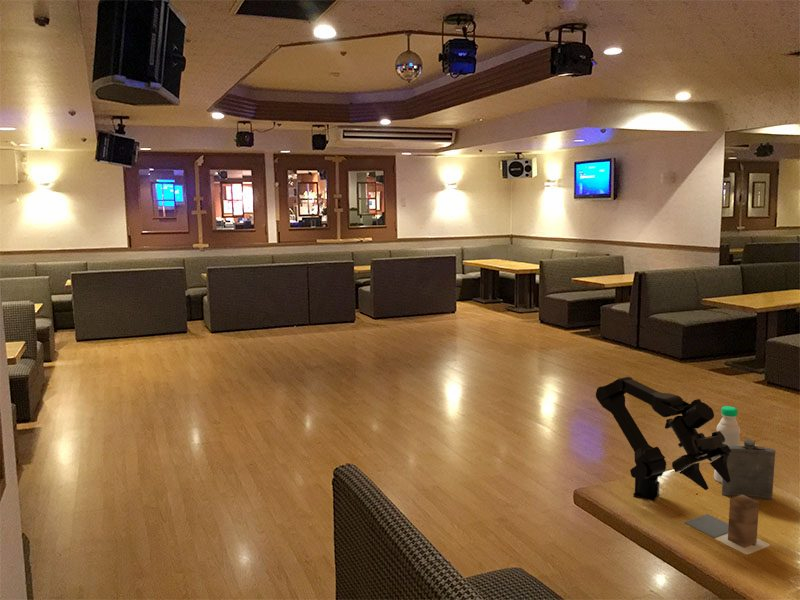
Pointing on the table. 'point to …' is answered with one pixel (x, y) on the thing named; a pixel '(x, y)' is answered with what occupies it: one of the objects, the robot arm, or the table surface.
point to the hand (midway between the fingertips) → (718, 485)
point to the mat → (709, 525)
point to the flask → (750, 471)
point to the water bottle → (728, 430)
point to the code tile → (747, 550)
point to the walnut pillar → (743, 521)
